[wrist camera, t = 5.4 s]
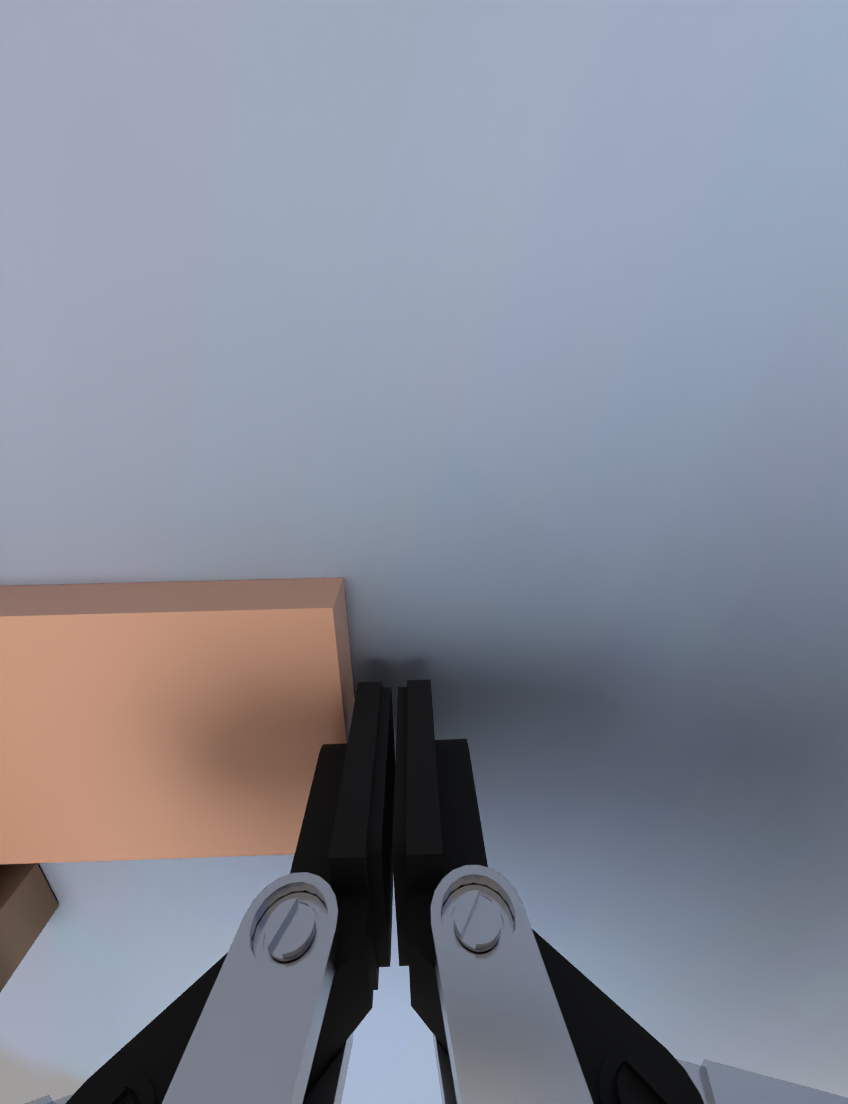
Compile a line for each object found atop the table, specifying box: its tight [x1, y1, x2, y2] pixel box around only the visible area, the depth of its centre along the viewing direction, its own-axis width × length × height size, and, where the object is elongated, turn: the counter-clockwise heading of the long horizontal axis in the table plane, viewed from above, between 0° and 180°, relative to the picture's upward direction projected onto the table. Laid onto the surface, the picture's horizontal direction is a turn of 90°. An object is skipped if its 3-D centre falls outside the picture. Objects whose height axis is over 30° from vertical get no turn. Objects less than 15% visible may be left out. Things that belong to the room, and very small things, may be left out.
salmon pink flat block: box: [0, 577, 355, 864], centre depth 11 cm, size 11×7×2 cm, turn 91°
